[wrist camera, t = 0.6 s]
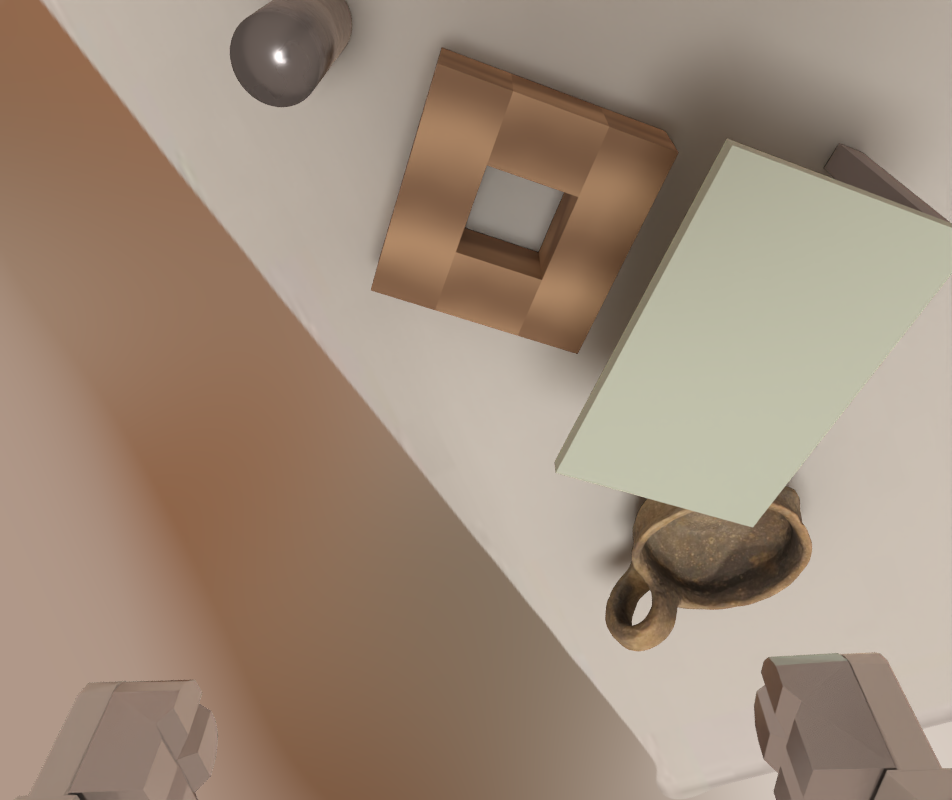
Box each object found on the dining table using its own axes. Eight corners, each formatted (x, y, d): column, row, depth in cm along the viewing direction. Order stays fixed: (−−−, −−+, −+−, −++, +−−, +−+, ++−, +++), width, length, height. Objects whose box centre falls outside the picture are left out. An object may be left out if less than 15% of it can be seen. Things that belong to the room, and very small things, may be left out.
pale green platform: (673, 74, 44) (732, 145, 33) (866, 150, 46) (979, 238, 36) (542, 353, 55) (555, 473, 44) (703, 402, 57) (752, 527, 47)
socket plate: (441, 47, 43) (437, 63, 40) (665, 130, 46) (678, 152, 42) (378, 262, 51) (370, 290, 48) (572, 323, 53) (577, 353, 50)
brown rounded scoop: (820, 516, 64) (868, 612, 56) (639, 599, 70) (658, 697, 62) (744, 411, 58) (786, 502, 50) (554, 513, 64) (563, 609, 56)
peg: (287, -32, 41) (237, -3, 33) (360, -4, 42) (328, 30, 33) (274, 45, 43) (224, 89, 35) (343, 69, 44) (309, 119, 36)
